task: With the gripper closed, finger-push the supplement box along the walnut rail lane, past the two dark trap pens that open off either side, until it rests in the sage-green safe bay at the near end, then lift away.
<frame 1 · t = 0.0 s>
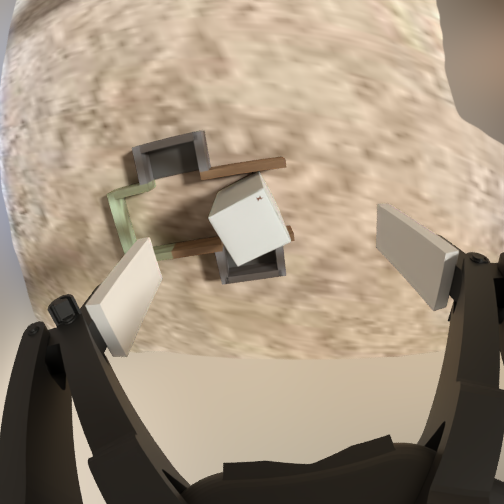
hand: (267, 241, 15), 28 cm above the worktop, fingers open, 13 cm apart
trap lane: (198, 209, 43), on the worktop
supplement box: (248, 200, 43), on the worktop
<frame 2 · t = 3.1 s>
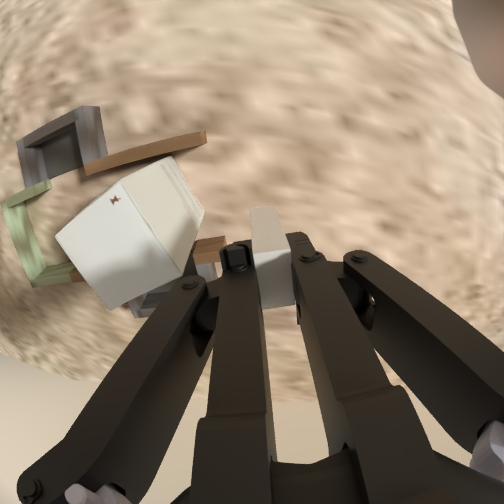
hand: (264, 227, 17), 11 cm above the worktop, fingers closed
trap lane: (99, 215, 28), on the worktop
supplement box: (161, 200, 28), on the worktop
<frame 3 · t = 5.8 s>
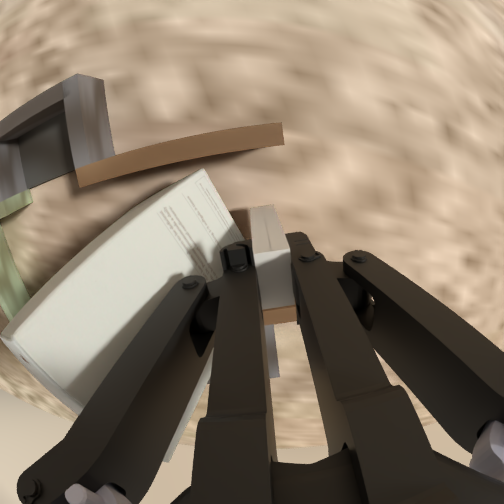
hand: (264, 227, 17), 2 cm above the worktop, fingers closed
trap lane: (101, 245, 19), on the worktop
supplement box: (192, 235, 18), point 1 cm above the worktop, touching gripper, hand
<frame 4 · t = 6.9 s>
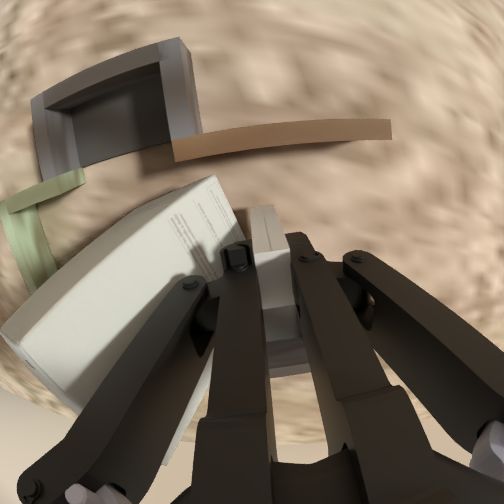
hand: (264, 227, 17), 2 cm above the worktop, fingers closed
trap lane: (174, 232, 19), on the worktop
supplement box: (197, 239, 18), point 1 cm above the worktop, touching gripper, hand
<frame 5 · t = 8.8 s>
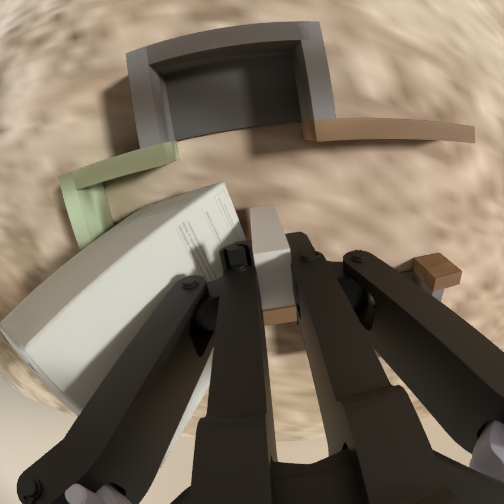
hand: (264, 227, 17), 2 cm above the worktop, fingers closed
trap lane: (281, 216, 19), on the worktop
supplement box: (201, 243, 18), point 1 cm above the worktop, touching gripper
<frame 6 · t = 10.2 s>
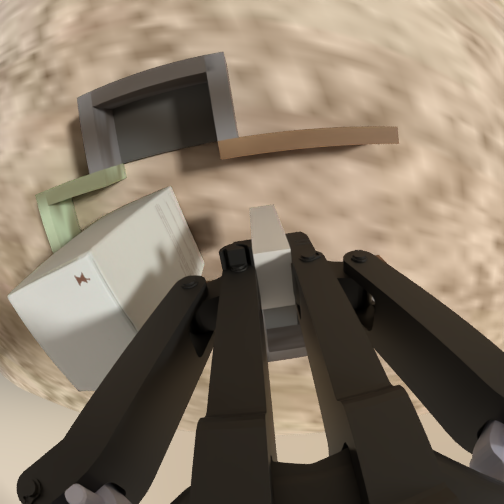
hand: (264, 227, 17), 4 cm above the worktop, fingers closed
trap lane: (210, 223, 21), on the worktop
supplement box: (151, 240, 22), on the worktop
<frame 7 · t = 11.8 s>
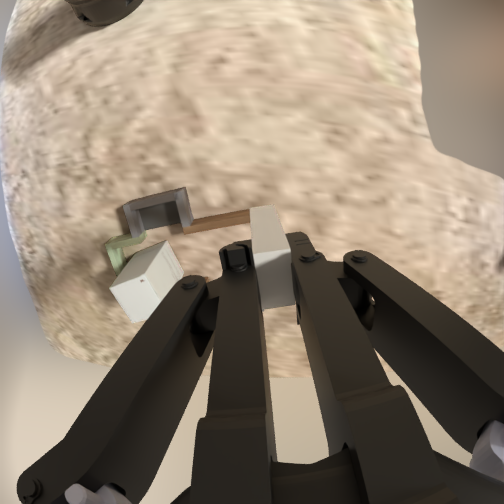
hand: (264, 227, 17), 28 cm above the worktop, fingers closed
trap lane: (185, 255, 49), on the worktop
supplement box: (159, 262, 50), on the worktop
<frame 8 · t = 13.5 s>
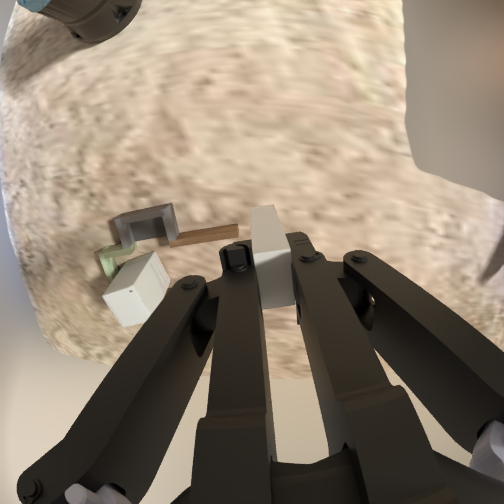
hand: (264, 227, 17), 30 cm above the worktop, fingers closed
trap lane: (171, 265, 52), on the worktop
supplement box: (148, 270, 53), on the worktop
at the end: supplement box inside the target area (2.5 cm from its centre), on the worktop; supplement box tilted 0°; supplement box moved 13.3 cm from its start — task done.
